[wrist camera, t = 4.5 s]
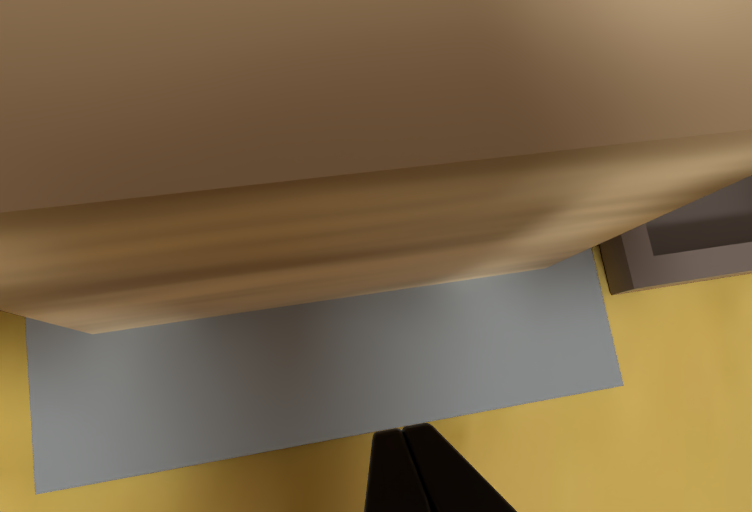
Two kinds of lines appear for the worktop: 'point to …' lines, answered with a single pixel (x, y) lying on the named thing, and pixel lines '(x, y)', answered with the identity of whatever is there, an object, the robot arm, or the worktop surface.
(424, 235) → the oak block
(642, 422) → the worktop surface
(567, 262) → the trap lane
